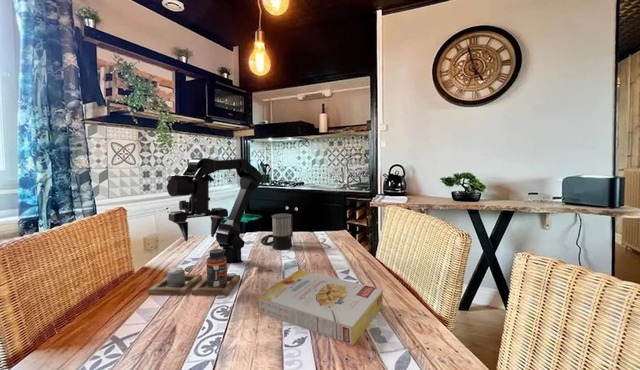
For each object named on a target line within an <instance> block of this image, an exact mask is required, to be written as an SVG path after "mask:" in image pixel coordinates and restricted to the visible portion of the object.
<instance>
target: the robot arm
mask: <svg viewBox="0 0 640 370" xmlns="http://www.w3.org/2000/svg"><path fill="white" fill-rule="evenodd" d="M226 170H235V171H236V175H237V176H238V177H239V186H240V189H239V192H238V193H237V196H236V198H235V199H234V200H235V201H234V203H233V206H232V209H231V211H230V213H229V211H228V209H227V208H224V207H213V208H211V209H210V208H209V205H210V201H211V197H210V196H209V194H210V192H209V189H210V188H209V187H210V182H214V181H215V179H214V178H213V177H212V176H211V174H214V173H216V172H217V171H226ZM262 181H263V176H262V173H261V172H260V171H259V170H258V169H257V167H255V166H254V165H252V164H251V163H250V162H249V161H248V160H247V159H245V158H233V159H217V160H216V159H214V158H213V159H212V158H206V157H201V158H199V157H195V158H194V157H193V158H191V159H189V161H188V163H187V166H186V168H185V169H184V170H183V172H182V174H181V175H177V174H170V179H169V180H168V181H167V184H166V191H167V193H168V195H169V196H170V197H182V196H189V198H188V199H189V200H188V201H187V200H186V199H184V200H179V203H178V206H179V207H178V208H179V210H177V211H176V210H175V211H174V210H173V211H170V212H169V213H168V221H171V222H172V223H174V224H176V225H177V226H178V228H179V229H180V231H181V234H182V237H183V239H184V241H185V242H188V239H189V221H187V220H188V219H193V218H202V217H203V218H205V217H210V221H211V222H210V225H211V226H210V236H211V238H214V236H215V239H216V242H217V243H218V245H219V247H220V248H222V250H223V255H224V256H225V257H226V258H227V264H242V263H244V260H242V248H244V247H245V243H246V242H245V240H243V239H242V237H240V236H241V226H240V224H241V221H242V219H243V217H244V214H245V212H246V209H247V207H248V204H249V201H250V198H251V197H252V194H253V192H254V191H256V190H257V188H259V186H260V184H261V183H262ZM226 218H227V219H226ZM225 219H226V220H225ZM223 220H225V222H224V223H223Z"/></svg>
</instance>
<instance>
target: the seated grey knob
mask: <svg viewBox="0 0 640 370" xmlns="http://www.w3.org/2000/svg"><path fill="white" fill-rule="evenodd" d="M185 275H186V271H185V269H184V268H183V267H174V268H170V269H169V270H168V272H167V273H166V276H167V284H168V287H183V286H185Z"/></svg>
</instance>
